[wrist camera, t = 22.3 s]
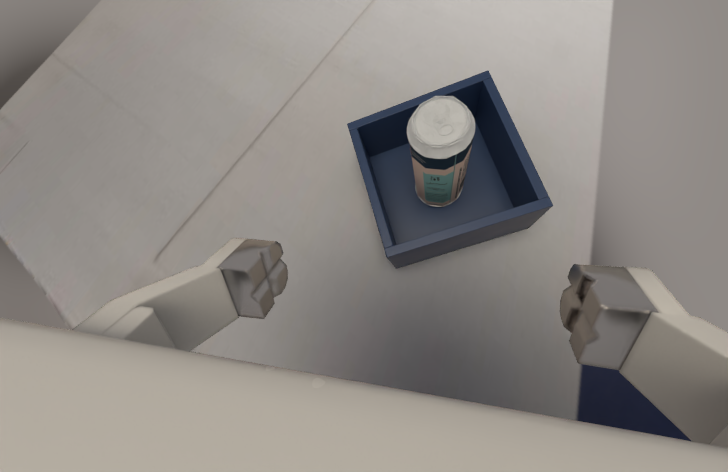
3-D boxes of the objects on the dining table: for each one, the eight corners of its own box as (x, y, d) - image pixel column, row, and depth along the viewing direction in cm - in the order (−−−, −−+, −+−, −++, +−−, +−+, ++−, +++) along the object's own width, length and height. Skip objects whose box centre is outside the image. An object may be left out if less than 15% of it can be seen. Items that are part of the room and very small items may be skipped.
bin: (528, 228, 31) (553, 205, 25) (396, 268, 33) (386, 257, 26) (478, 115, 35) (488, 70, 28) (362, 157, 37) (347, 123, 30)
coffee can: (448, 158, 34) (455, 78, 22) (471, 195, 32) (490, 129, 21) (407, 178, 34) (394, 111, 23) (428, 216, 33) (424, 164, 21)
